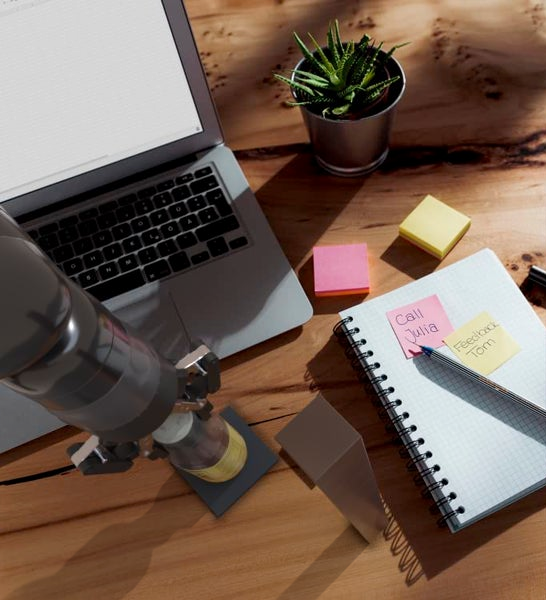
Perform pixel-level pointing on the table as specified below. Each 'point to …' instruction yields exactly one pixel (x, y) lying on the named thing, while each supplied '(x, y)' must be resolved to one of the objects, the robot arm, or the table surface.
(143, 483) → the table surface
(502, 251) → the table surface
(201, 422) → the sauce bottle
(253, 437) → the mat
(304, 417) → the walnut post
